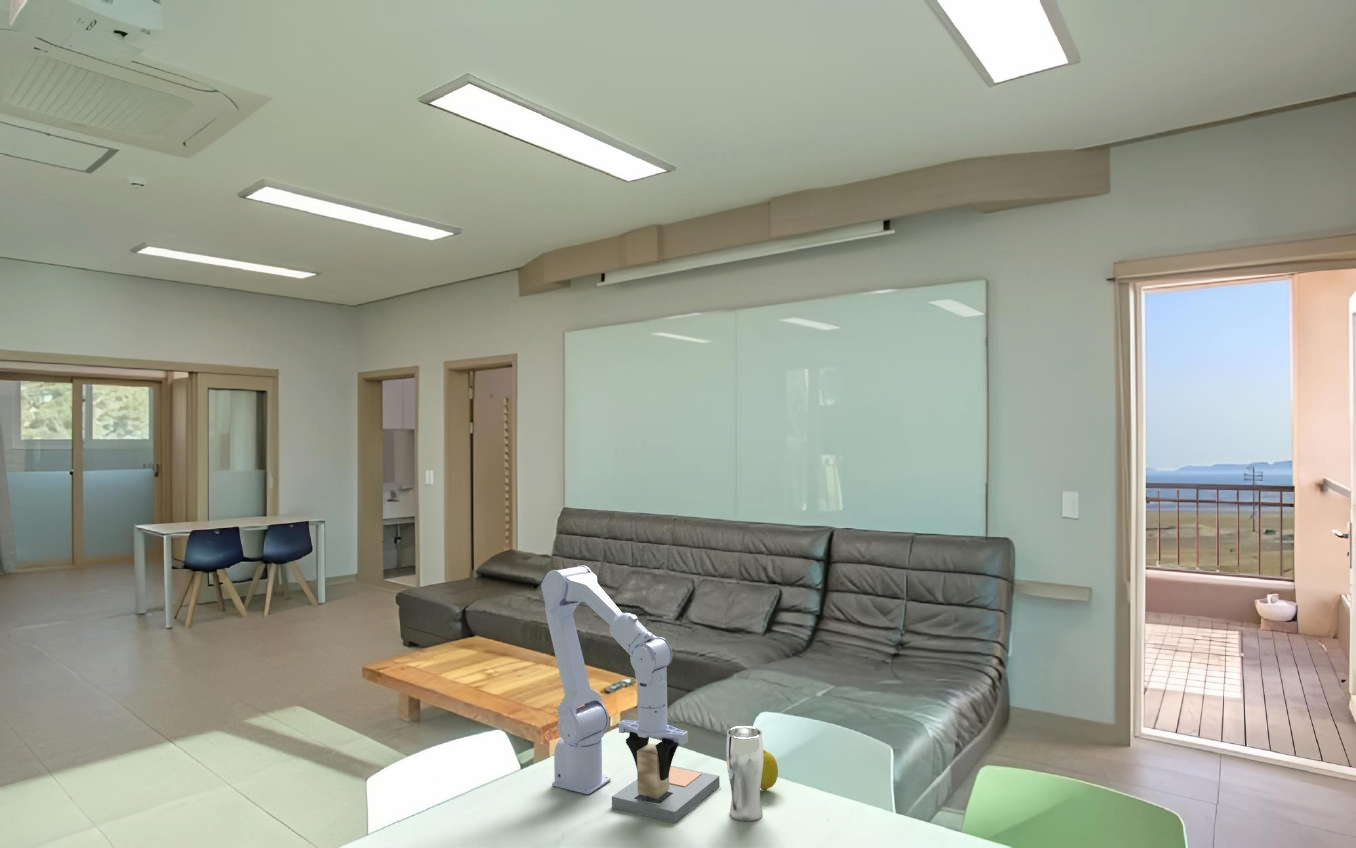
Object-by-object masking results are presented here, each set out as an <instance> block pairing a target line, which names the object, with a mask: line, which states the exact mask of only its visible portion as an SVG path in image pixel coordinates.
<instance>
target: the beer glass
mask: <svg viewBox="0 0 1356 848" xmlns="http://www.w3.org/2000/svg"><path fill="white" fill-rule="evenodd" d="M762 733H763V732H762V730H760V729H759V728H757V727H754V726H749V725H748V726H747V725H746V726H745V725H744V726H743V725H742V726H734V727H731V728H729V729H727V731H726V746H725V753H726V754H725V759H726V760H725V761H726V766H727V768H726V769H727V774H728V779H729V784H730V791H731V803H730V809H729V815H730V817H731V818H732V819H734V820H736V821H740V822H744V823H745V822H746V823H747V822H748V823H749V822H755V821H757V820H759V819H761V818H762V817H763V807H762V803H761V788H760V786H761V779H762V772H763V750H764V744H763V743H764V742H763V734H762Z"/></svg>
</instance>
